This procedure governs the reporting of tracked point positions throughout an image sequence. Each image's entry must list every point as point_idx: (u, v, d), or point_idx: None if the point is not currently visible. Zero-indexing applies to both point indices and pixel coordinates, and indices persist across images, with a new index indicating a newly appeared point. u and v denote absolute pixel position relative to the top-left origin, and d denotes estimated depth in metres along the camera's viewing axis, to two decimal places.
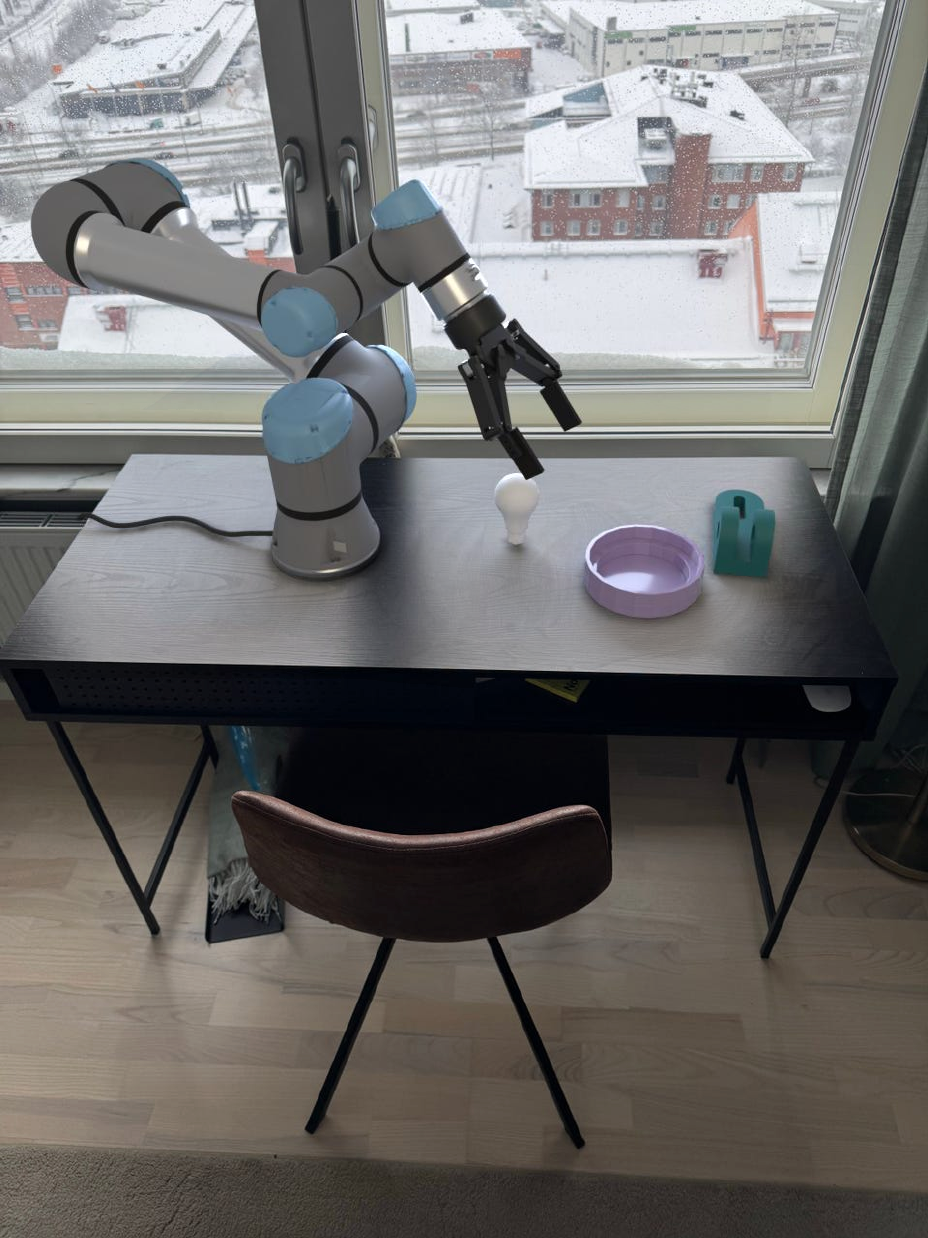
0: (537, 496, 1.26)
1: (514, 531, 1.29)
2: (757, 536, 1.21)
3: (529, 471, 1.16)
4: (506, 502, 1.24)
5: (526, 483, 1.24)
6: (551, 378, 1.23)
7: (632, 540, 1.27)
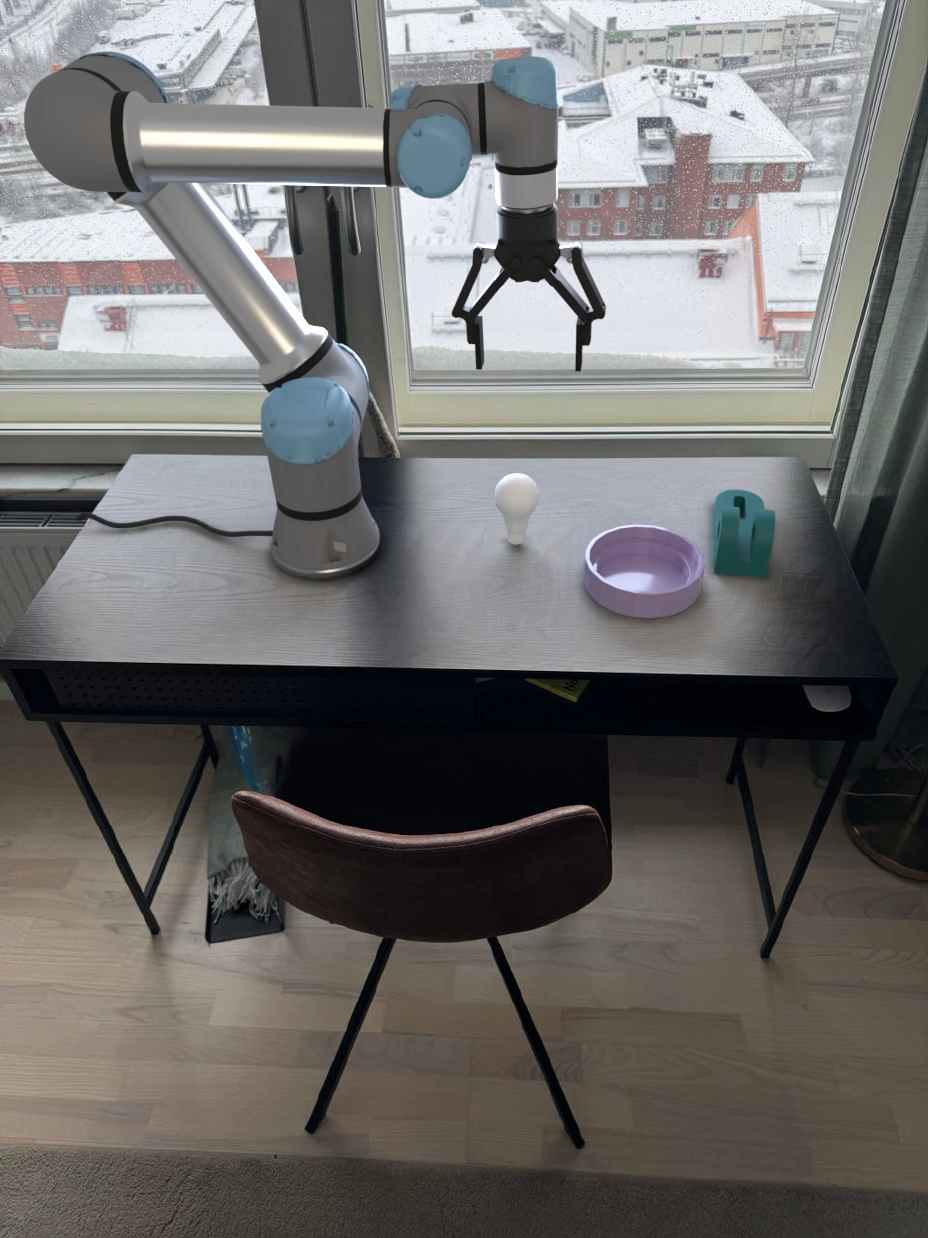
0: (537, 496, 1.26)
1: (514, 531, 1.29)
2: (757, 536, 1.21)
3: (581, 361, 1.26)
4: (506, 502, 1.24)
5: (526, 483, 1.24)
6: None
7: (632, 540, 1.27)
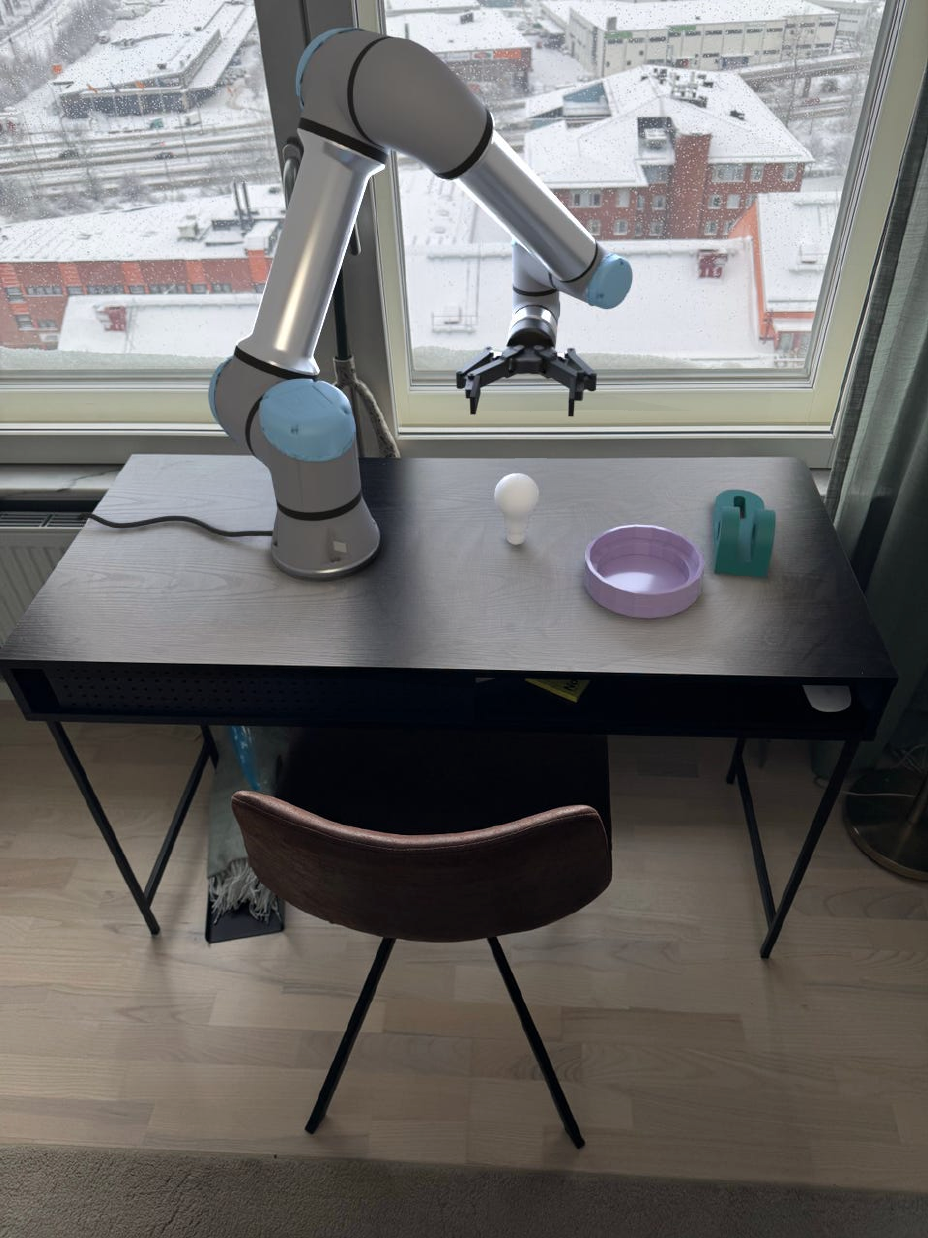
0: (537, 496, 1.26)
1: (514, 531, 1.29)
2: (758, 536, 1.21)
3: None
4: (506, 502, 1.24)
5: (526, 483, 1.24)
6: None
7: (632, 540, 1.27)
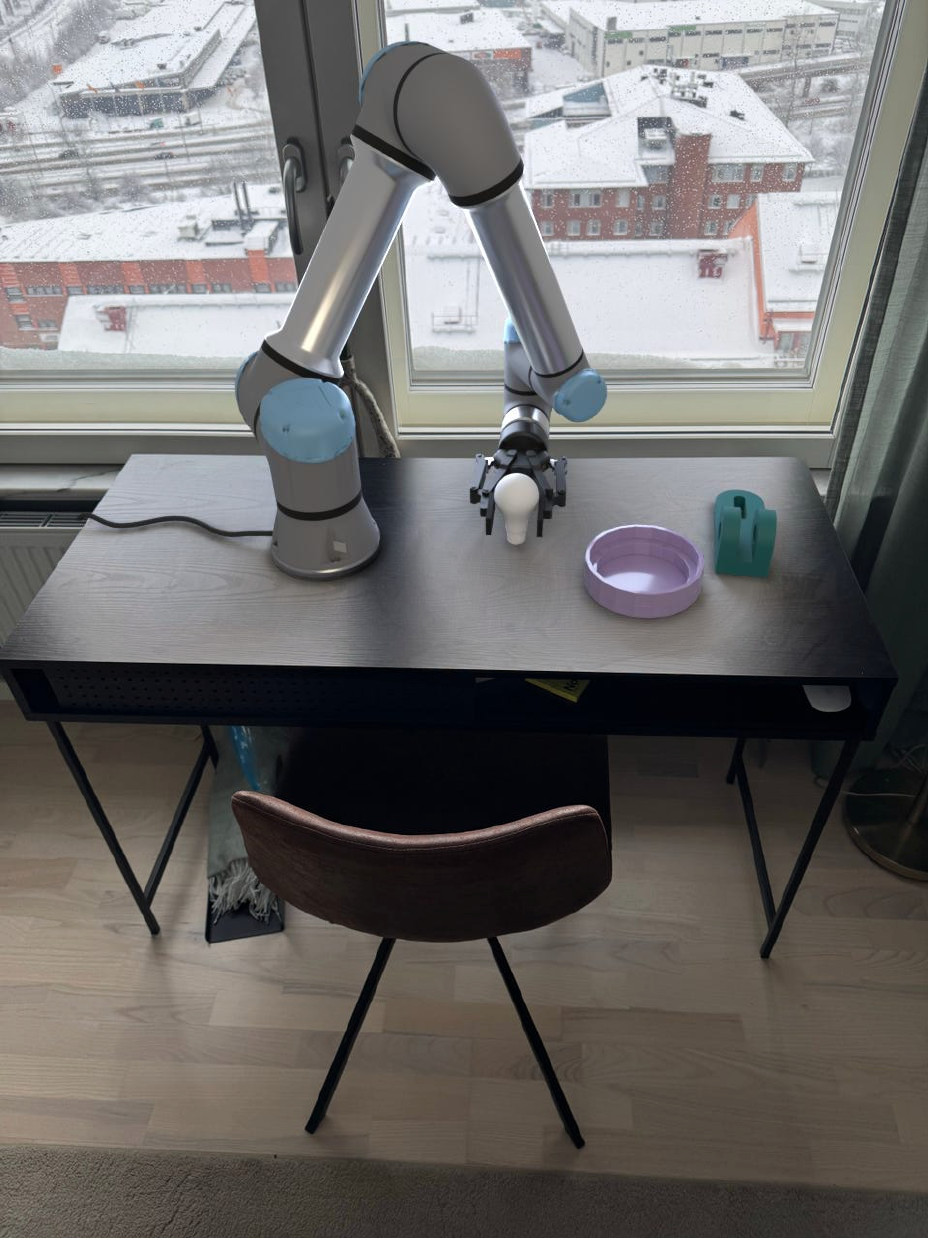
0: (537, 496, 1.26)
1: (514, 531, 1.29)
2: (759, 536, 1.21)
3: None
4: (506, 502, 1.24)
5: (526, 483, 1.24)
6: None
7: (632, 540, 1.27)
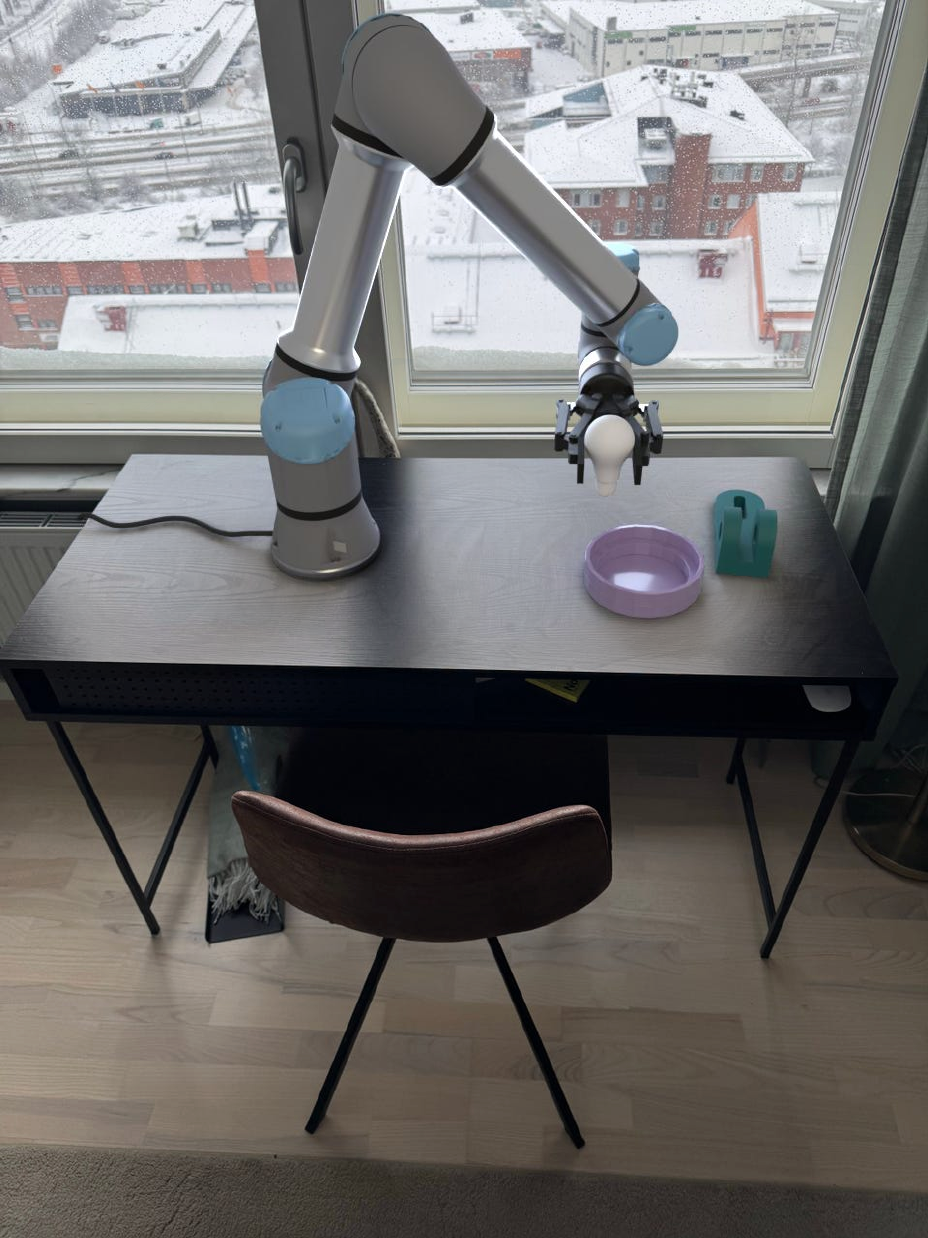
0: (633, 440, 1.13)
1: (605, 480, 1.16)
2: (760, 536, 1.21)
3: None
4: (599, 446, 1.12)
5: (622, 424, 1.11)
6: None
7: (632, 540, 1.27)
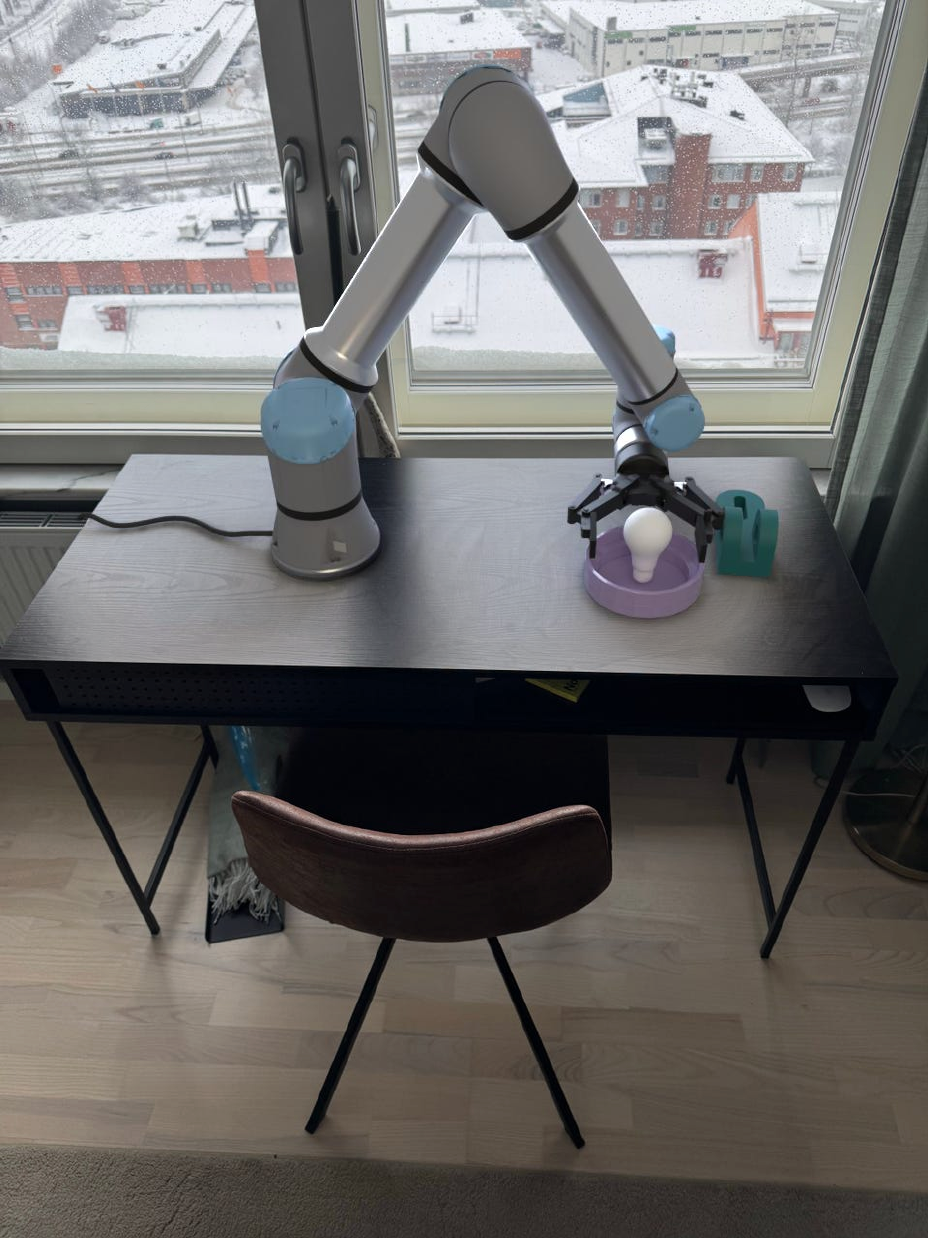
0: (671, 532, 1.17)
1: (643, 569, 1.20)
2: (761, 536, 1.21)
3: None
4: (639, 539, 1.16)
5: (661, 518, 1.16)
6: None
7: None
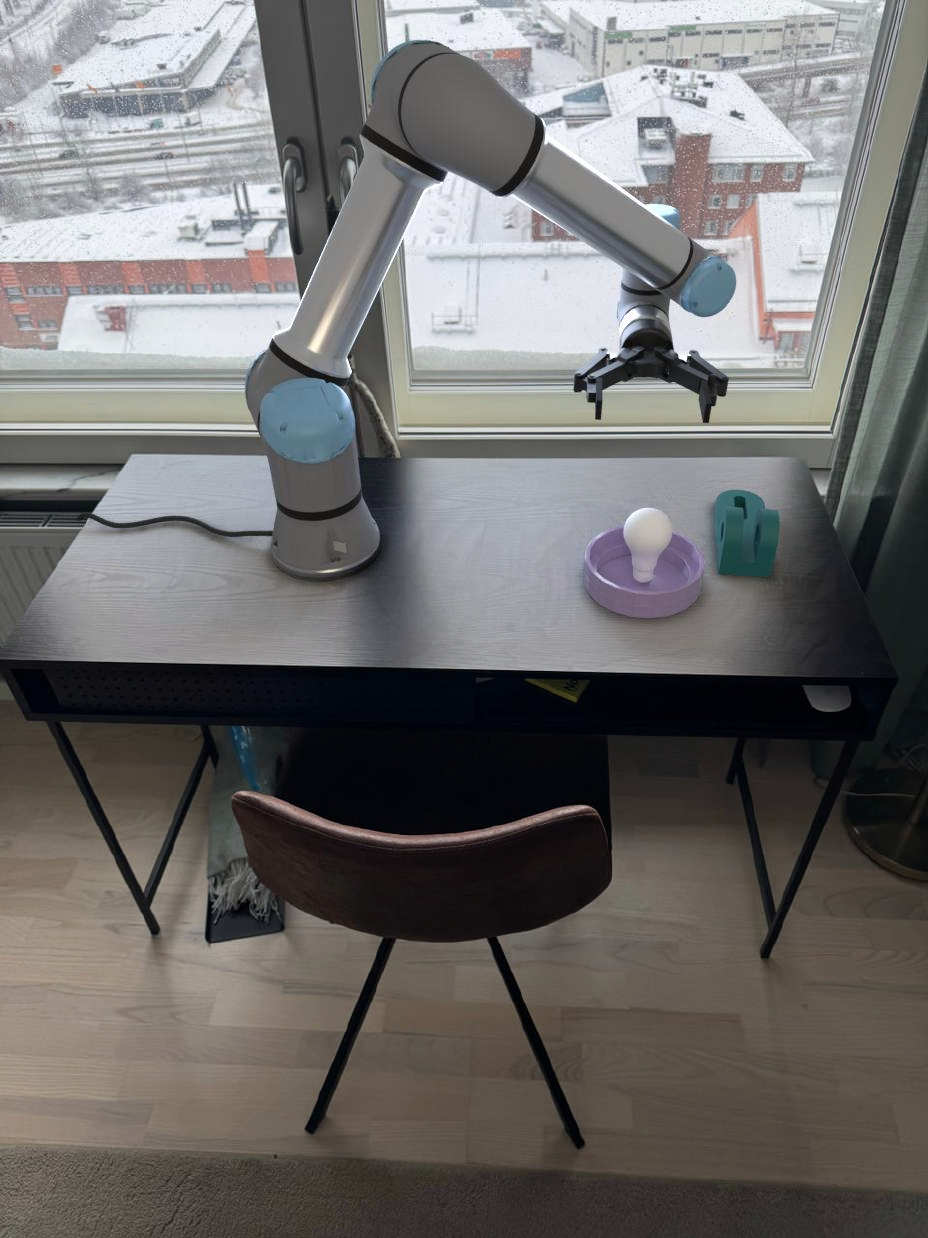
0: (671, 532, 1.17)
1: (643, 569, 1.20)
2: (762, 536, 1.21)
3: None
4: (639, 539, 1.16)
5: (661, 518, 1.16)
6: None
7: None
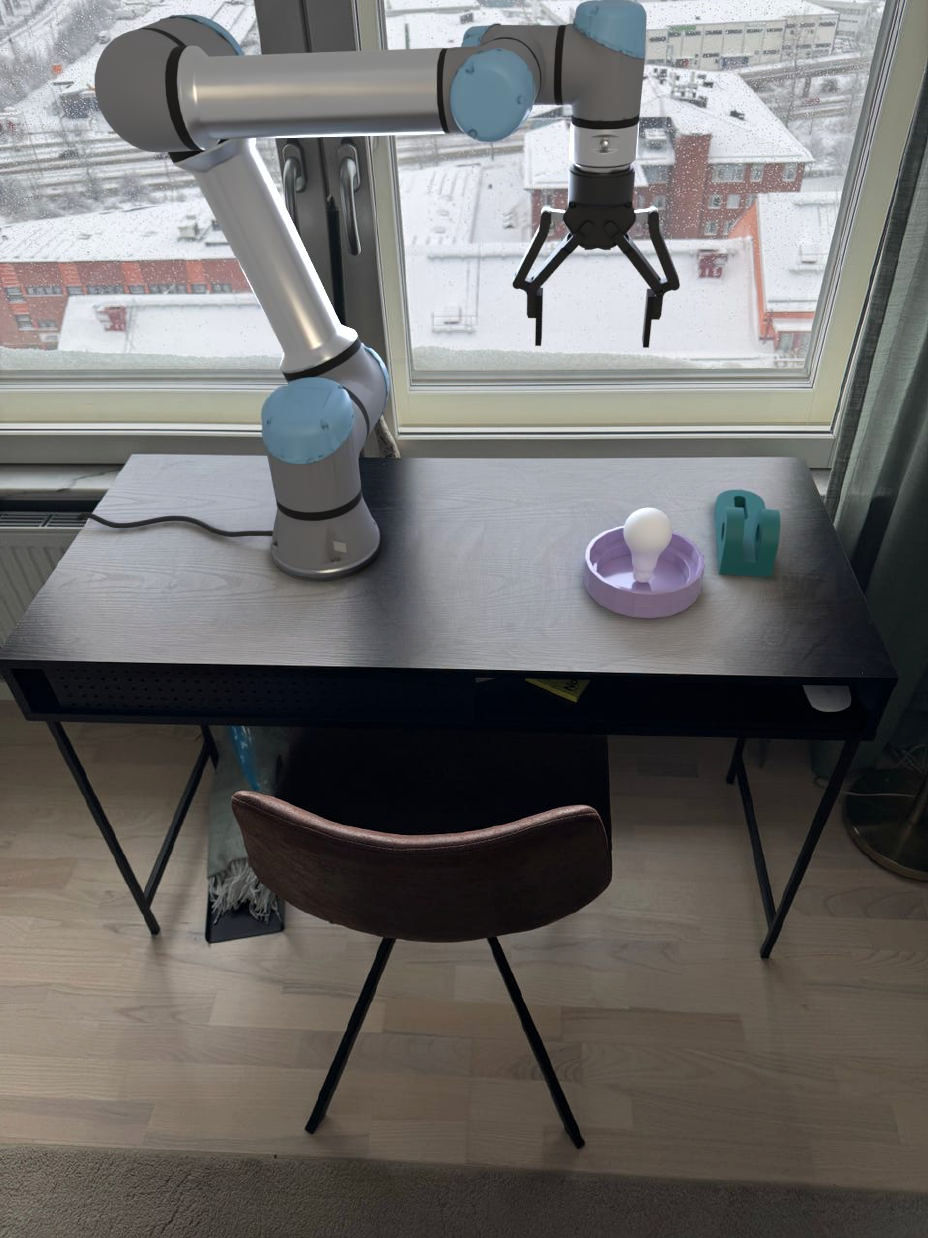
0: (671, 532, 1.17)
1: (643, 569, 1.20)
2: (763, 536, 1.21)
3: None
4: (639, 539, 1.16)
5: (661, 518, 1.16)
6: None
7: None
